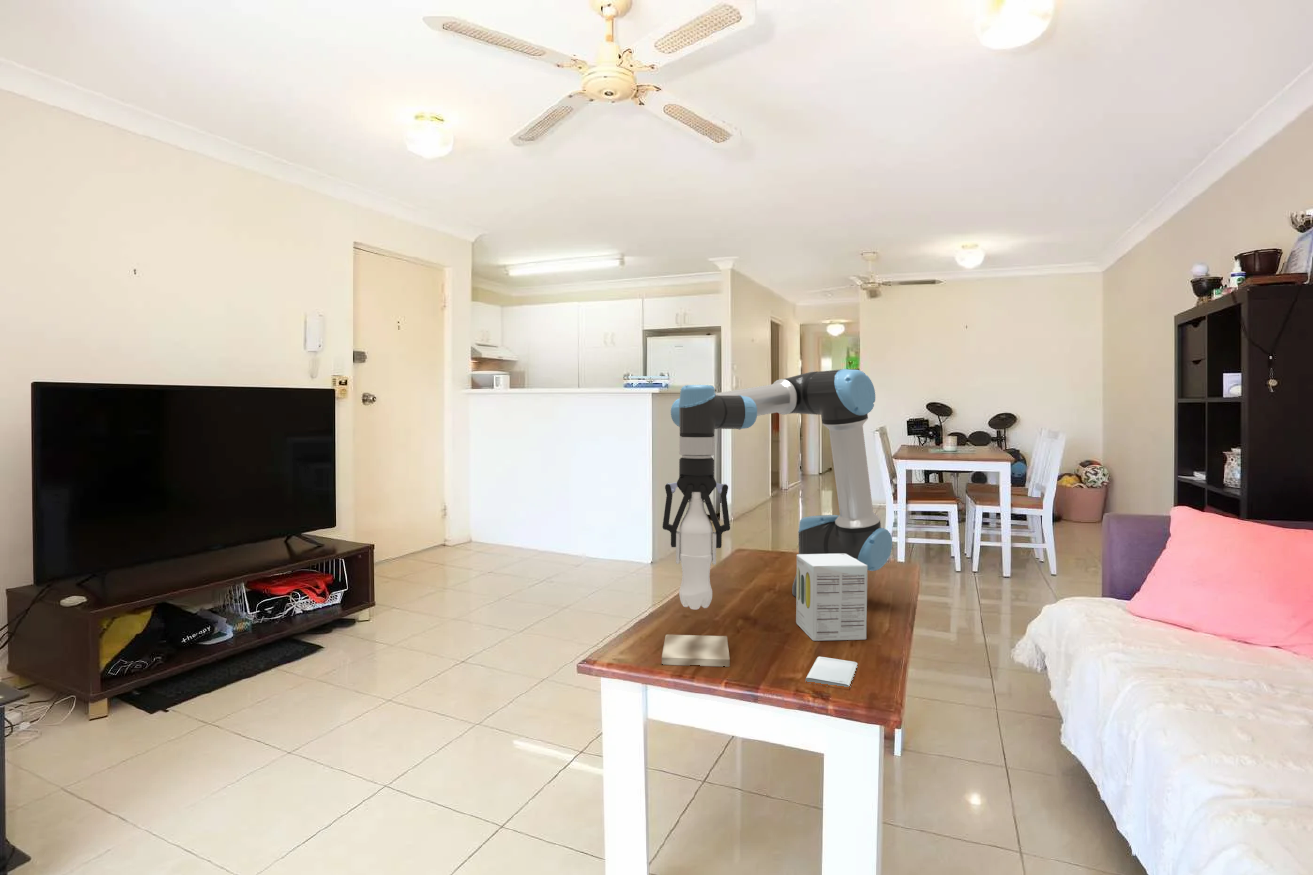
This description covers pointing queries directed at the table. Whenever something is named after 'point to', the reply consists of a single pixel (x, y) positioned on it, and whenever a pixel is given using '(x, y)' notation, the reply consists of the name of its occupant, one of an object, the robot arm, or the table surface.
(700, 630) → the table surface
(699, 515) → the water bottle
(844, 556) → the supplement box
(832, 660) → the white spiral notebook
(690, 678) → the table surface
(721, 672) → the table surface
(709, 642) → the flat beige metallic box
